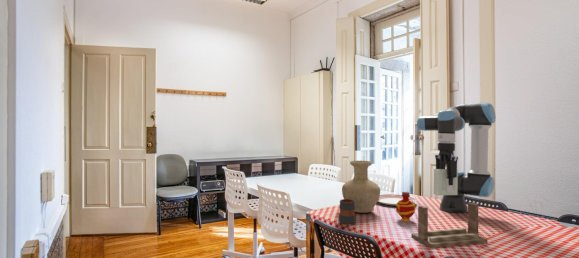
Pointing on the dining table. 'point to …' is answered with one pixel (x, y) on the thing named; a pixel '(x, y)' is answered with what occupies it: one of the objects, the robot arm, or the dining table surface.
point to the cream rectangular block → (443, 182)
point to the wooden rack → (449, 230)
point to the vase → (361, 188)
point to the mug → (347, 212)
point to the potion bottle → (405, 207)
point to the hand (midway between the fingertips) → (445, 190)
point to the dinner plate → (392, 199)
